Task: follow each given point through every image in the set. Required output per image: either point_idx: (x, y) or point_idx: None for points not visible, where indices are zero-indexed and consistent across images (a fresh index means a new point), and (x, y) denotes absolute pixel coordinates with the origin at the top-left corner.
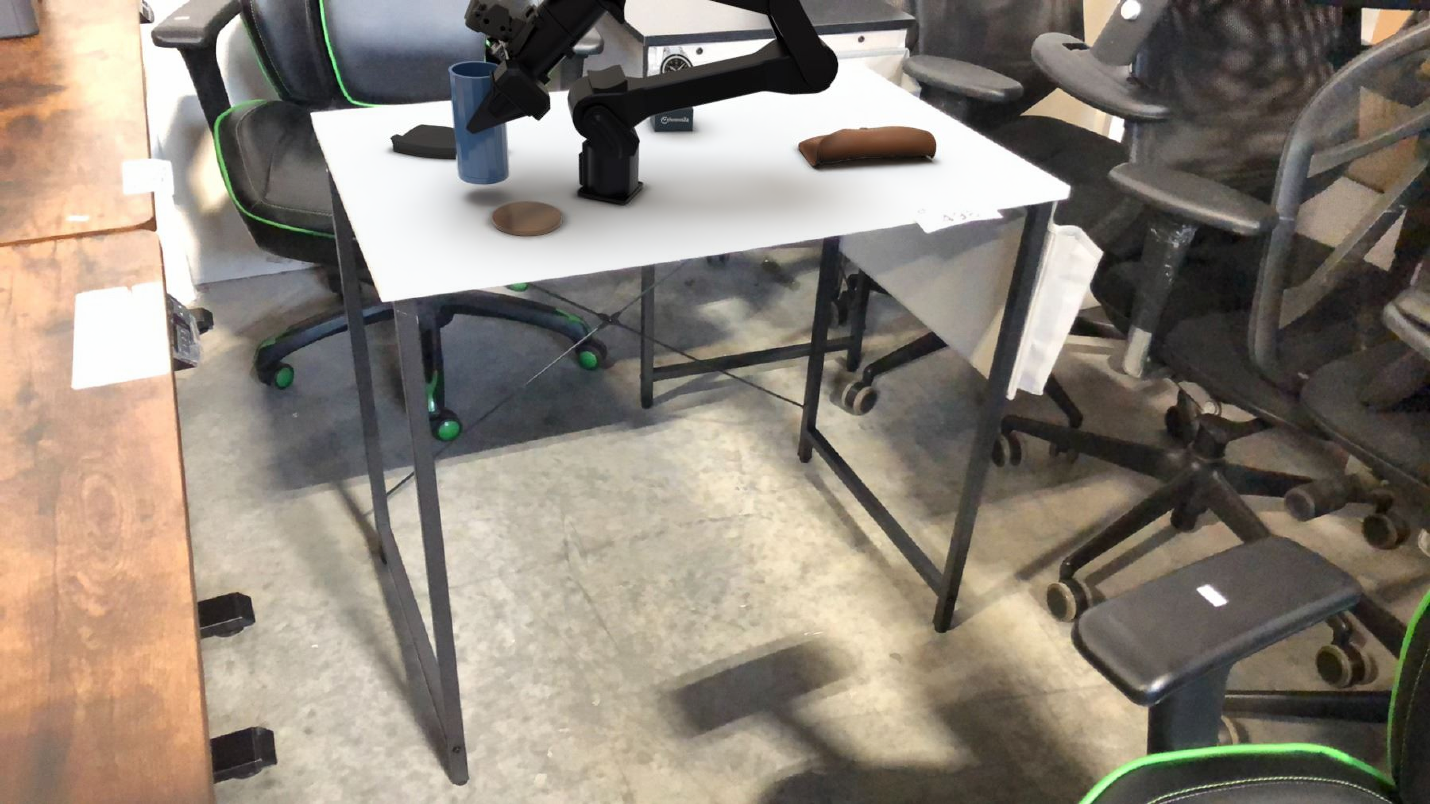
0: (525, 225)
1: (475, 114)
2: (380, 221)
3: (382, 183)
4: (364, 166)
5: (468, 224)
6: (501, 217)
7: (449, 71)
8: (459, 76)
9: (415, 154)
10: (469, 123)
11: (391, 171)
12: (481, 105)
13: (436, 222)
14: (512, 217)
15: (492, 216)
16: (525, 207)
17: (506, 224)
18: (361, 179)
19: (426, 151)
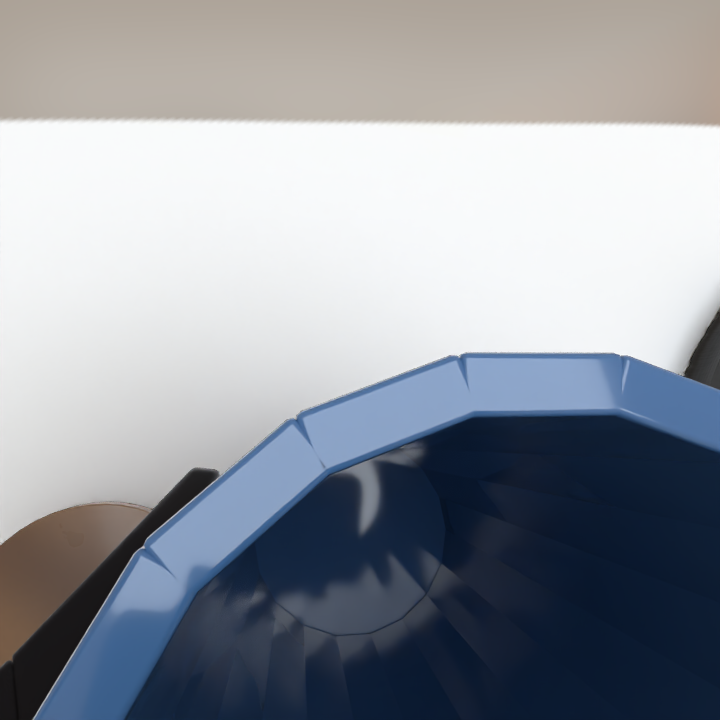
0: (5, 617)
1: (99, 567)
2: (234, 167)
3: (506, 215)
4: (637, 186)
5: (133, 419)
6: (105, 539)
7: (507, 355)
8: (207, 496)
9: (704, 341)
10: (168, 497)
11: (591, 254)
12: (34, 671)
13: (179, 322)
14: None
15: (125, 507)
16: None
17: (38, 546)
18: (545, 164)
19: (703, 373)
